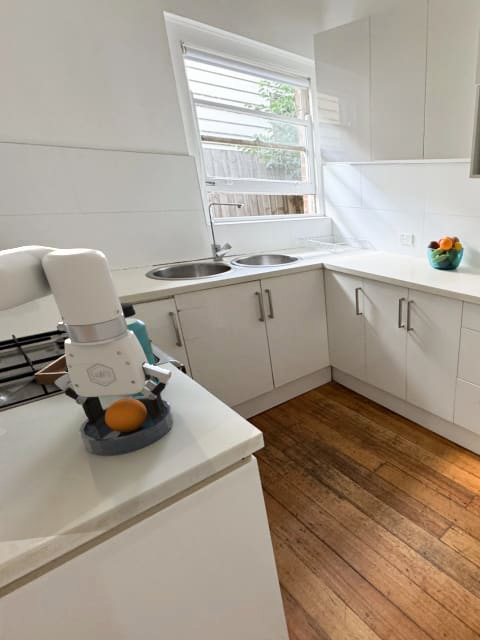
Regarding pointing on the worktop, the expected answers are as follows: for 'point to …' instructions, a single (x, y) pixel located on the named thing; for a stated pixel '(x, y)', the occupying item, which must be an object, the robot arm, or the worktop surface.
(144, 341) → the beverage bottle
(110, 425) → the tangerine
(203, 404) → the worktop surface
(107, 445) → the dish
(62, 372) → the tray
